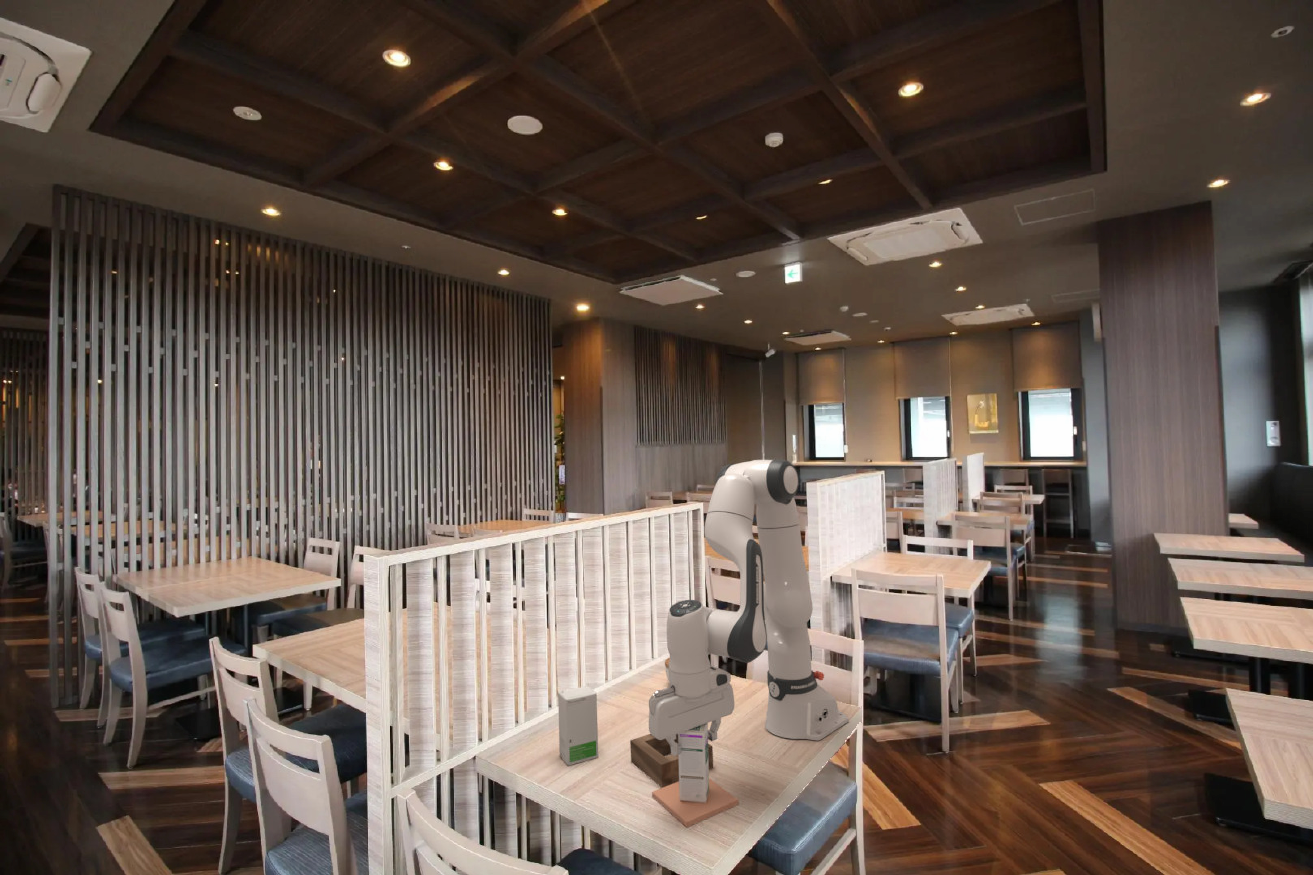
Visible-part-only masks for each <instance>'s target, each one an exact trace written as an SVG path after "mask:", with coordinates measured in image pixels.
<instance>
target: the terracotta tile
mask: <svg viewBox="0 0 1313 875" xmlns="http://www.w3.org/2000/svg"><path fill="white" fill-rule="evenodd" d="M651 797H652V798H653V799H654V800H656V801H657V802H658V804H659V805H661V806H662V807H663V808H664V809H666V810H667V811H668V812H669V813H670V814H671V815H672V816H674V818H676V819H677V820H678V821H679V822H680V823H681V824H682V825H683V826H685V828H688V827H690V826H692V825H695V824H697V823H700V822H702V821H704V820H706V819H709V818H711V817H713V816H716V815H718V814H720V813H723V812H724V811H727V810H729V809H731V808H733V807H736V806H738V805H739V798H737V797H735V796H734V795H733V794H731V793H730V792H729V791H728V790H726V789H724V788H723V787H722V786H721V785H719V784H718V783H716V781H713V780H712V779H711V778H709V792H708V796H707V800H706V803H700V802H690V801H683V800H680V799H679V781H678V782H676V783H673V784H671V785H668V786H666V787H663V788H662V787H660V788H659V789H655V790H653V791H652V792H651Z"/></svg>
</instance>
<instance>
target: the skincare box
mask: <svg viewBox="0 0 1313 875" xmlns="http://www.w3.org/2000/svg"><path fill="white" fill-rule="evenodd" d="M557 699H558V700H557V701H558V740H559V741H558V742H559V744H558V746H559V756H560V757H561V758H562V760H563V762H564V763H565V764H566V765H567V766H571V765H572V766H573V765H575V764H579V763H582V762H586V761H590V760H594V759H598V758H599V732H598V731H599V730H598V704H597V703H598V700H597V692H596V691H594V689H592V688H591V687H590V686H588V685H586V686H581V687H573V688H570V689H564V690H559V691H558V692H557Z"/></svg>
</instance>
